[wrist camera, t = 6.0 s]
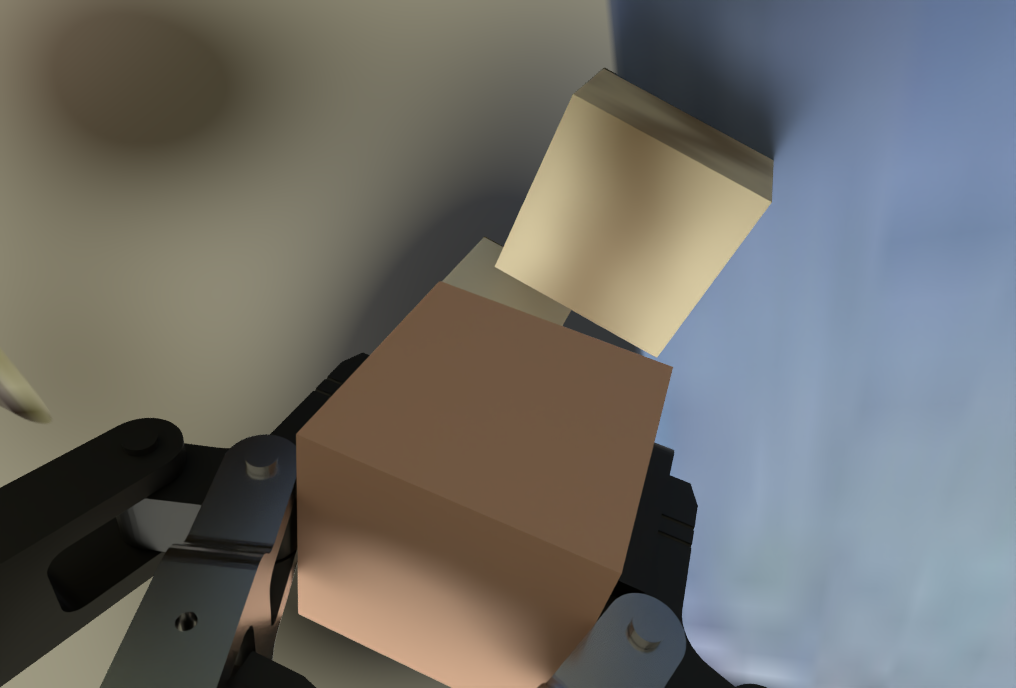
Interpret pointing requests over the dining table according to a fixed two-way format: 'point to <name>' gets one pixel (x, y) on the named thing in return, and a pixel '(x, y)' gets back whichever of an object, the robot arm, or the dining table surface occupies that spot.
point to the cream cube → (502, 284)
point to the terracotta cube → (475, 490)
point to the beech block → (634, 211)
